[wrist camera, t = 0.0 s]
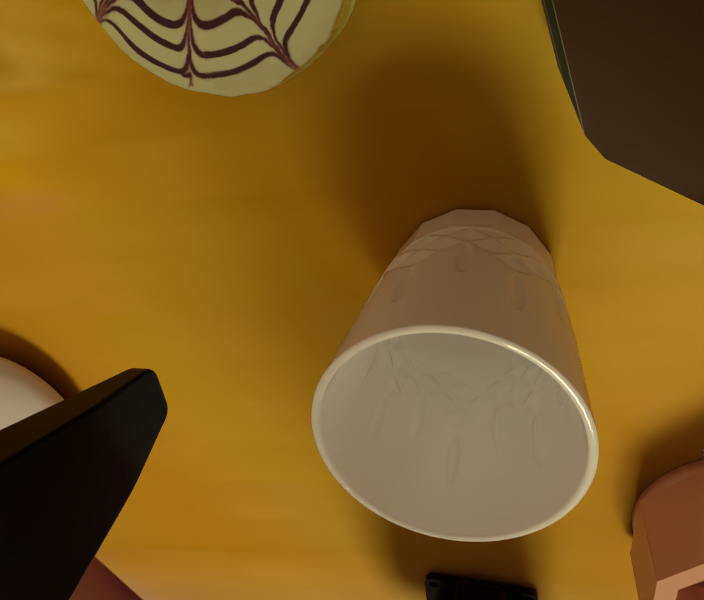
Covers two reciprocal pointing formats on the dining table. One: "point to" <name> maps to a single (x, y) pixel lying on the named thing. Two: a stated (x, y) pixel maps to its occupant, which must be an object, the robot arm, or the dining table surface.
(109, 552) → the dining table surface
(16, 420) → the flower in vase
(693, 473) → the terracotta bowl
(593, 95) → the beer bottle
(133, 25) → the decorated donut
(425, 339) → the white cup
